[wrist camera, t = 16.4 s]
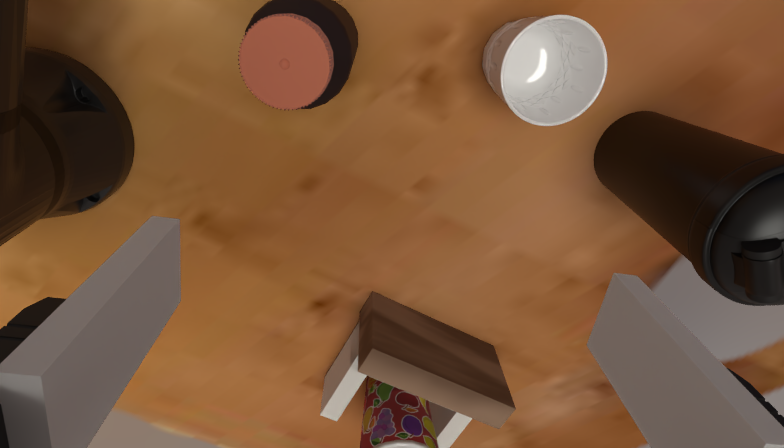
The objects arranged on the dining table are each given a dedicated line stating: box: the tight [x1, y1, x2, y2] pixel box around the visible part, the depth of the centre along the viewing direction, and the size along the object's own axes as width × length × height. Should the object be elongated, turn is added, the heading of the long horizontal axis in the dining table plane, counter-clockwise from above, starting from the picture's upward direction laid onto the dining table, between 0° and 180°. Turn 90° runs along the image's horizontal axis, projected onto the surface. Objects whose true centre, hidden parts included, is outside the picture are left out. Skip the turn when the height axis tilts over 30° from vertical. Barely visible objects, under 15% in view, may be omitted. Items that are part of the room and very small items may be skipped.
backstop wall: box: [358, 291, 516, 429], centre depth 53 cm, size 3×16×10 cm, turn 61°
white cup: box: [482, 15, 607, 126], centre depth 42 cm, size 8×8×10 cm
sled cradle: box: [320, 321, 472, 448], centre depth 57 cm, size 9×15×6 cm, turn 61°
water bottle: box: [594, 111, 784, 306], centre depth 40 cm, size 10×10×23 cm
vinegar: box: [238, 0, 358, 110], centre depth 36 cm, size 7×7×20 cm
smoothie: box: [360, 377, 439, 448], centre depth 51 cm, size 8×8×20 cm
